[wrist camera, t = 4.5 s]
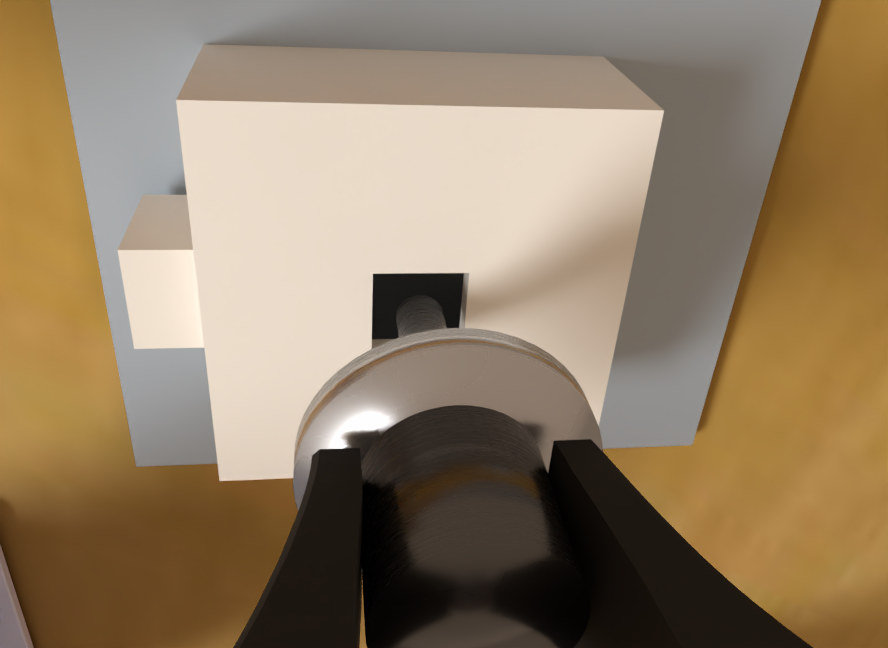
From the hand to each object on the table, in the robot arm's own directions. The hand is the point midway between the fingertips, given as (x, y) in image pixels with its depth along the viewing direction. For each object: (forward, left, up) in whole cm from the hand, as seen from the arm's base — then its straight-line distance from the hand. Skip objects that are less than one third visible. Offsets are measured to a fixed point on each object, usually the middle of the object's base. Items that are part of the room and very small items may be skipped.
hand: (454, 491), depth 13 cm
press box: (0, 0, -9) cm, 9 cm away
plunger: (0, 0, -5) cm, 5 cm away
